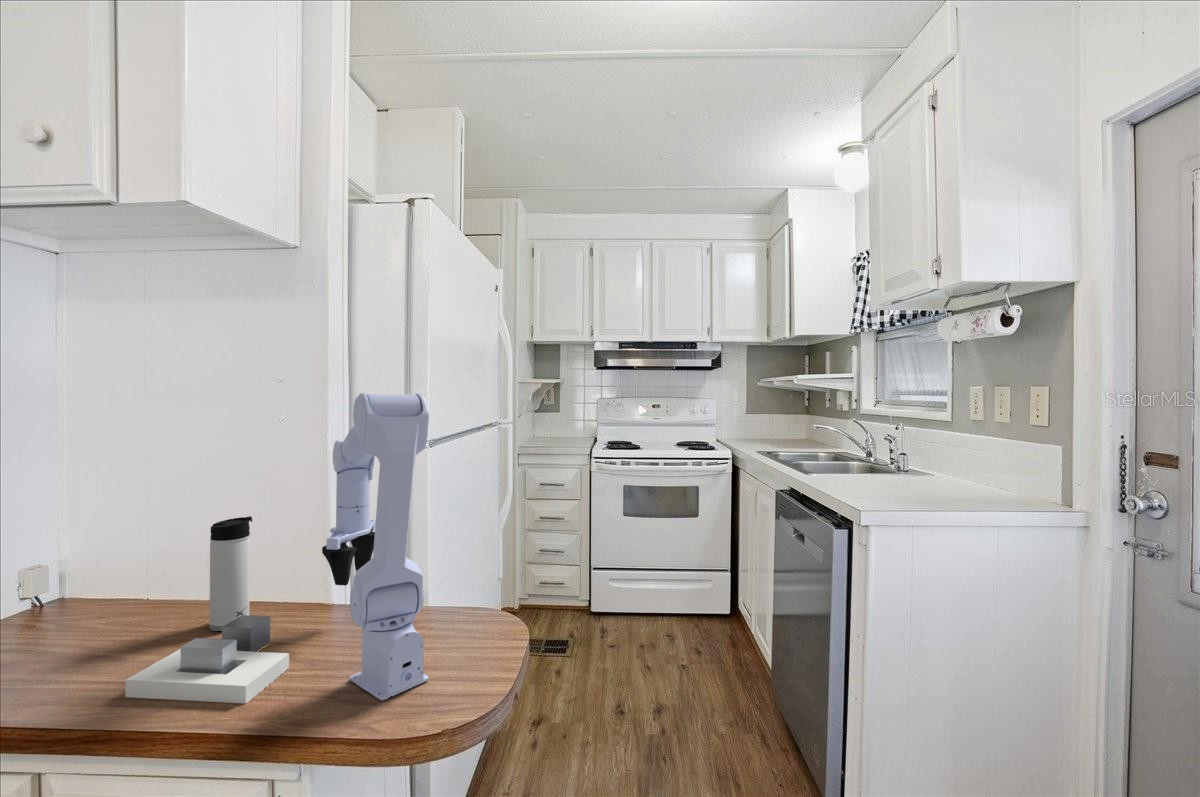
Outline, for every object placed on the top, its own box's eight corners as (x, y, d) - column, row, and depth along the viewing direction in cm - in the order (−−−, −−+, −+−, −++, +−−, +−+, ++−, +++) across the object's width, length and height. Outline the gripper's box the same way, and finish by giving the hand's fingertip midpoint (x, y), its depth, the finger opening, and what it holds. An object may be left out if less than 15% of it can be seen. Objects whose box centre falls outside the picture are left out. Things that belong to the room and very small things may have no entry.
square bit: (270, 644, 98) (270, 616, 98) (250, 658, 93) (250, 628, 93) (242, 643, 99) (242, 615, 99) (221, 656, 94) (221, 627, 94)
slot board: (289, 669, 90) (289, 653, 90) (245, 703, 80) (245, 686, 80) (181, 663, 91) (181, 648, 91) (125, 697, 81) (125, 679, 81)
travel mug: (250, 627, 105) (251, 520, 105) (207, 635, 102) (208, 524, 101) (252, 615, 110) (253, 513, 110) (211, 622, 107) (212, 517, 107)
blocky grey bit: (236, 678, 87) (236, 639, 87) (222, 688, 84) (222, 648, 84) (195, 676, 87) (196, 638, 87) (180, 686, 84) (180, 646, 84)
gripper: (351, 497, 113) (350, 564, 113) (310, 512, 98) (309, 590, 99) (386, 498, 112) (385, 566, 113) (349, 513, 98) (348, 591, 98)
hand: (352, 577), depth 106 cm, fingers open, 7 cm apart
